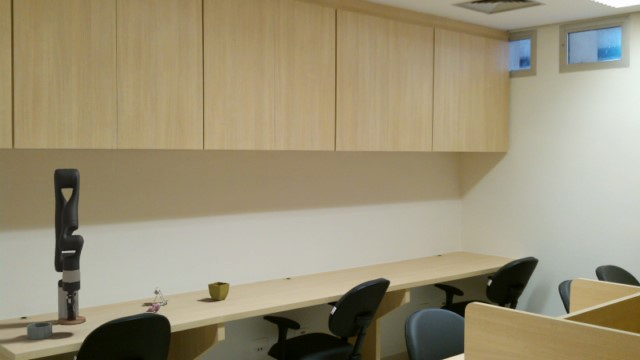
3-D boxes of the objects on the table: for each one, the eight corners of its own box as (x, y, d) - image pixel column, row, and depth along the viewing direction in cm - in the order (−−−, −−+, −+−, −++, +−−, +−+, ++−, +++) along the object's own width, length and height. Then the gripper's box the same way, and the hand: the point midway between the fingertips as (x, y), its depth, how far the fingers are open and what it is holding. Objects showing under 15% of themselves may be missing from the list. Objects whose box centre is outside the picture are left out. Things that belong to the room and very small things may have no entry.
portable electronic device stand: (167, 305, 352) (167, 290, 351) (152, 306, 350) (152, 290, 350) (168, 302, 360) (168, 287, 360) (153, 302, 359) (153, 287, 359)
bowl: (33, 333, 295) (33, 322, 295) (55, 333, 295) (55, 322, 295) (23, 339, 285) (23, 327, 285) (46, 339, 285) (46, 327, 285)
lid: (63, 318, 299) (63, 305, 299) (89, 318, 299) (89, 305, 299) (52, 325, 287) (52, 311, 287) (80, 325, 287) (80, 312, 287)
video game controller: (149, 321, 323) (155, 309, 323) (141, 316, 324) (147, 304, 323) (157, 316, 333) (163, 304, 332) (149, 312, 334) (155, 300, 333)
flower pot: (219, 302, 360) (219, 285, 360) (207, 300, 365) (207, 284, 365) (230, 299, 368) (230, 283, 368) (218, 297, 372) (218, 281, 372)
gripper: (64, 276, 298) (64, 314, 299) (60, 283, 284) (60, 322, 285) (82, 276, 300) (82, 313, 301) (78, 282, 286) (78, 321, 287)
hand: (71, 317), depth 293 cm, fingers closed on lid, 3 cm apart
